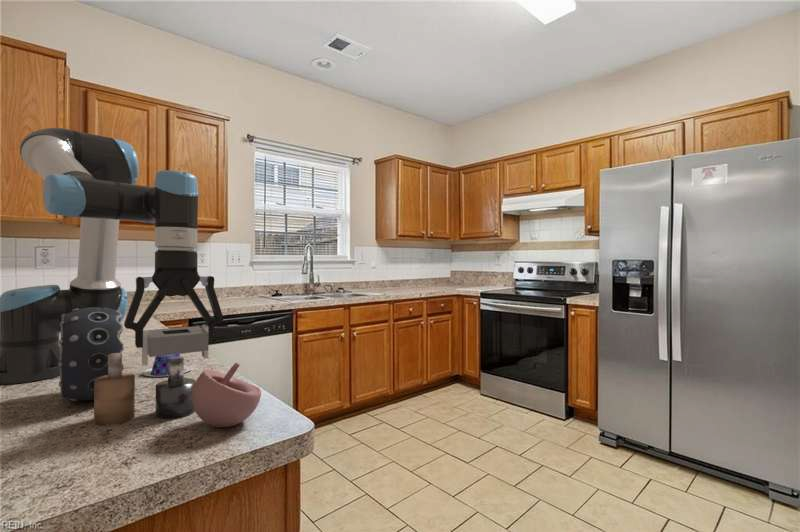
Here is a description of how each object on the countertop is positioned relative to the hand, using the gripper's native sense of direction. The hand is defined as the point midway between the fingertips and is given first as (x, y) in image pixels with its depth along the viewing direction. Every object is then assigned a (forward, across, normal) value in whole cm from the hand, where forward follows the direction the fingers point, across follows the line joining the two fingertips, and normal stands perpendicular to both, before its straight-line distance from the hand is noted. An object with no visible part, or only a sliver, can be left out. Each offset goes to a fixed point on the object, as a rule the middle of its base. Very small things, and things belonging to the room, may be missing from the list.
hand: (176, 360), depth 82 cm
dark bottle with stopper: (+11, 0, 0) cm, 11 cm away
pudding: (+11, +3, +35) cm, 37 cm away
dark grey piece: (+11, -14, +20) cm, 27 cm away
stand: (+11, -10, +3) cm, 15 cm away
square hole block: (-2, 0, 0) cm, 2 cm away
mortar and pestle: (+11, +7, -12) cm, 18 cm away
